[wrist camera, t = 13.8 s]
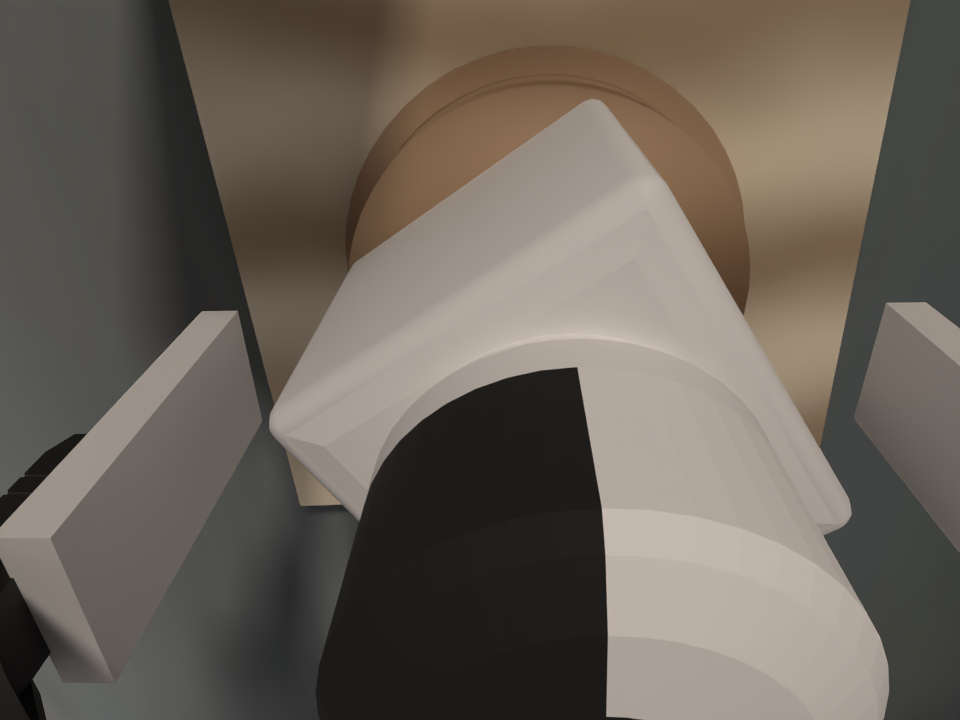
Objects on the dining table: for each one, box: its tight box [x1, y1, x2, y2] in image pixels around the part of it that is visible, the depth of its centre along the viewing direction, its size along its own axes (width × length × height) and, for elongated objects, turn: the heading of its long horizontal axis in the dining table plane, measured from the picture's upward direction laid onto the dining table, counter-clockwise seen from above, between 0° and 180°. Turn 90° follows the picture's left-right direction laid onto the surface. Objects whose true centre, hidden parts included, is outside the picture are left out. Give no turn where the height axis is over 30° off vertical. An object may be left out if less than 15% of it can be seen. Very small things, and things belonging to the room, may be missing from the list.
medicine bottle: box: [269, 99, 889, 720], centre depth 12 cm, size 7×7×12 cm
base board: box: [168, 0, 911, 506], centre depth 19 cm, size 18×18×4 cm
